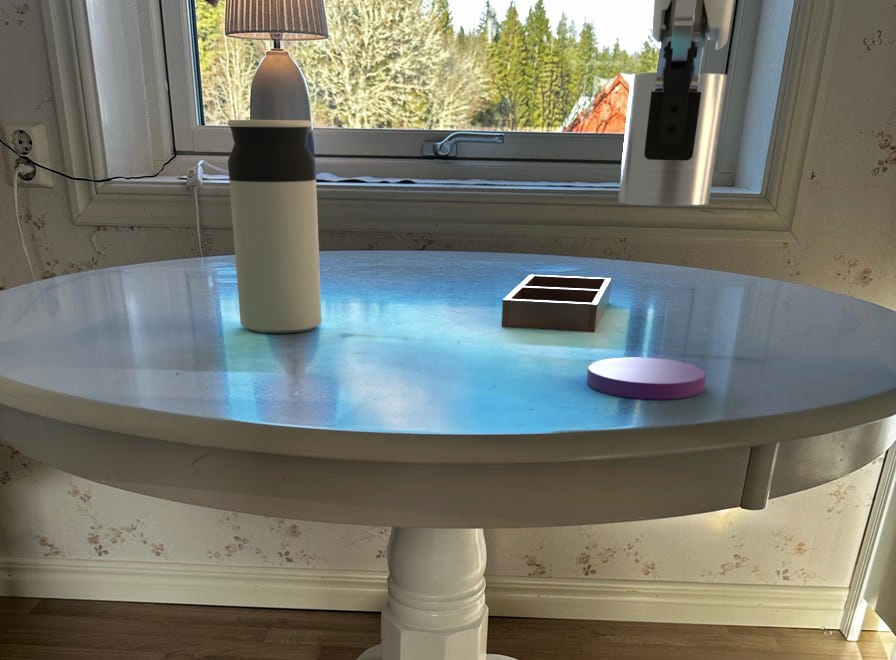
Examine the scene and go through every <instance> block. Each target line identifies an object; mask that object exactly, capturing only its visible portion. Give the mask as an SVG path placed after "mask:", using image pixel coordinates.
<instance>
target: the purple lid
mask: <svg viewBox="0 0 896 660" xmlns="http://www.w3.org/2000/svg"><path fill="white" fill-rule="evenodd" d="M706 376H707V374H706V371H705V370H704V369H702V367H699V366H696V365H694V364H691V363H687V362H683V361H680V360H679V361H678V360H673V359H667V358H659V357H642V356H634V357H633V356H624V357H611V358H604V359H600V360H596V361H594V362H591V363H590V364H589V365H588V367H587V376H586V384H587V385H588V387H590V388H591V389H593V390H595V391H598V392H601V393H602V394H607V395H610V396H616V397H620V398H621V397H622V398H627V399H628V398H629V399H635V400H636V399H638V400H651V401H654V400H657V401H661V400H662V401H663V400H677V399H678V400H679V399H686V398H690V397H694V396H698V395H699V394H702V393H703V392H704V389H705V382H706Z"/></svg>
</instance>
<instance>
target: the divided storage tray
mask: <svg viewBox="0 0 896 660" xmlns="http://www.w3.org/2000/svg"><path fill="white" fill-rule="evenodd" d="M611 286H612V278H611V277H610V278H609V277H607V278H606V277H588V276H587V277H584V276H567V275H566V276H563V275H545V274H544V275H543V274H529V275H528V276H527V277H526V278H525V279H524V280H523V281H521V282H520V283H519V284H518V285H517V286H516V287H515V288H514V289H513V290H512V291H511V292H510V293H509V294H507V295H506V296H505V297H504V298H503V299H502V308H501V328H510V329H512V328H513V329H528V330H530V329H531V330H543V331H544V330H545V331H546V330H547V331H560V332H561V331H563V332H567V331H568V332H580V333H581V332H582V333H596V330H597V329H598V326H599V324H600V323H601V320H602V319H603V316H604V314H605V312H606V310H607V308H608V305H609V303H610V298H611V288H612V287H611Z"/></svg>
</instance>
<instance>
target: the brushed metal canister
mask: <svg viewBox="0 0 896 660" xmlns="http://www.w3.org/2000/svg"><path fill="white" fill-rule="evenodd" d="M656 75H657V72H635V73H632V74H631V75H630V82H629V83H630V84H629V94H628V102H627V103H628V104H627V111H626V123H625V133H624V142H623V150H622V151H623V152H622V160H621V169H620V181H619V191H618V199H617V201H618V203H621V204H627V205H636V206H651V207H652V206H654V207H656V206H657V207H703V206H707V205H709V204H710V197H711V192H712V184H713V178H714V177H713V176H714V169H715V164H716V155H717V150H718V142H719V135H720V129H721V122H722V116H723V108H724V101H725V95H726V88H727V82H728V81H727V80H728V74H727V73H718V72H717V73H715V72H701V73H700V77H699V85H698V92H701V99H700V107H699V114H698V121H697V129H696V136H695V143H694V151H693V156H692V158H691V159H689V160H686V161H685V160H649V159H646V157H645V155H644V151H645V143H646V134H647V125H648V116H649V108H650V99H651V92H663V91H664V88H663V91H655V84H656ZM691 76H692V73H691ZM689 92H690V87H689Z"/></svg>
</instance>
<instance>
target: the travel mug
mask: <svg viewBox="0 0 896 660" xmlns="http://www.w3.org/2000/svg"><path fill="white" fill-rule="evenodd" d="M227 126H229V128H230V131H231V134H232V140H233V143H234V144H233V147H232V148H231V151H230V154H229V157H228V159H227V169H228V179H229V180H228V181H229V192H230V194H229V196H230V207H231V218H232V219H231V220H232V221H231V222H232V232H233V245H234V259H235V270H236V284H237V296H238V297H237V298H238V308H239V320H240V325H241V326H242V327H244V328H245V329H247V330H250V331H252V332H255V333H262V334H291V333H292V334H295V333H303V332H308V331H311V330H314V329H316V328H317V327H319V326H320V325H322V322H323V321H322V297H321V295H322V294H321V274H320V269H321V268H320V249H319V248H320V246H319V245H320V243H319V224H318V223H319V221H318V218H319V217H318V195H317V172H316V171H317V170H316V168H317V167H316V160H315V157H314V156H313V154H312V152H311V149H310V148H309V146H308V138H309V137H308V135H309V129H310V127H311V126H312V122H311V120H303V119H228V120H227Z"/></svg>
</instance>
